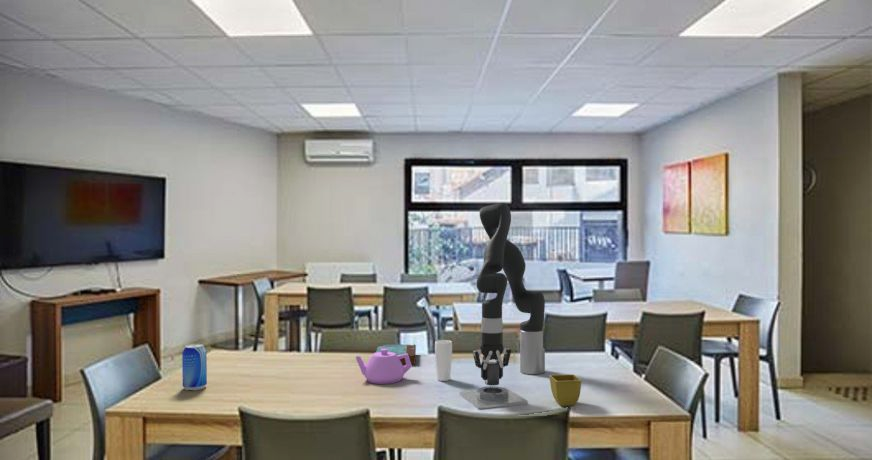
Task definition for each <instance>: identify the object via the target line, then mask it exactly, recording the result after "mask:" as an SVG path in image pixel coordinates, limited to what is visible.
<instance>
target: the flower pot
mask: <svg viewBox="0 0 872 460" xmlns="http://www.w3.org/2000/svg"><path fill="white" fill-rule="evenodd" d="M549 384H550V389H551V394H552V397H553V398H554V401H555V402H556V403H557V404H558V405H559V406H561V407H563V406H572V407H573V406H576V404H577V403H578V401H579V398H580V395H581V389H582V380H581V378H579V377H577V376H576V375H575V374H574V373H573V374H572V373H571V374H570V373H569V374H549Z"/></svg>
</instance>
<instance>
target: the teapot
mask: <svg viewBox="0 0 872 460" xmlns="http://www.w3.org/2000/svg"><path fill="white" fill-rule="evenodd" d="M380 351H381V352H377V353H376V352H374V353H373V354H372V355H371V356H370V357H369V359H368V361H367V363H365V362H364V360H363V359H362V357H361V356H360V355H359V356H358V355H356V356H355V359H356V362H357V364H358V366H359V368H360V371H361V374H362V375H363V377H365V379H366V380H367V381H368V382H369V383H371V384H376V385H377V384H378V385H389V384H396V383H398V382H400V381H401V380H402V379H403V378H404V376H405V374H406V373H407V372H408V371H409V370H410V369H411V368H412V367H413V365H412V364H411V362H410V359H409V356H408V353H406V354H401V355H396V354H395V353H393V352H388V349H381V350H380ZM402 358H405V361H406V365H402V363H401V361H400V359H402Z"/></svg>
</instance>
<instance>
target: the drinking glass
mask: <svg viewBox="0 0 872 460" xmlns="http://www.w3.org/2000/svg"><path fill="white" fill-rule="evenodd" d="M434 355H435V357H434V358H435V368H436V380H437V381H439V382H448V381H450V380H451V374H452V373H451V371H452V360H453V359H452V357H453V342H452V340H450V339H448V340H447V339H438V340H435V342H434Z"/></svg>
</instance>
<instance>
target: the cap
mask: <svg viewBox="0 0 872 460" xmlns="http://www.w3.org/2000/svg"><path fill="white" fill-rule="evenodd" d="M486 370H487V380H484V384H485V385H487V386H498V385H500V379H499V363H497V362H496V361H489V363H488V364H487V367H486Z"/></svg>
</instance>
